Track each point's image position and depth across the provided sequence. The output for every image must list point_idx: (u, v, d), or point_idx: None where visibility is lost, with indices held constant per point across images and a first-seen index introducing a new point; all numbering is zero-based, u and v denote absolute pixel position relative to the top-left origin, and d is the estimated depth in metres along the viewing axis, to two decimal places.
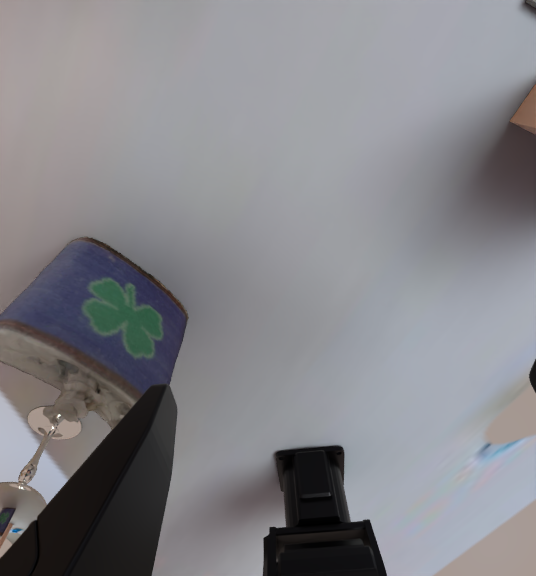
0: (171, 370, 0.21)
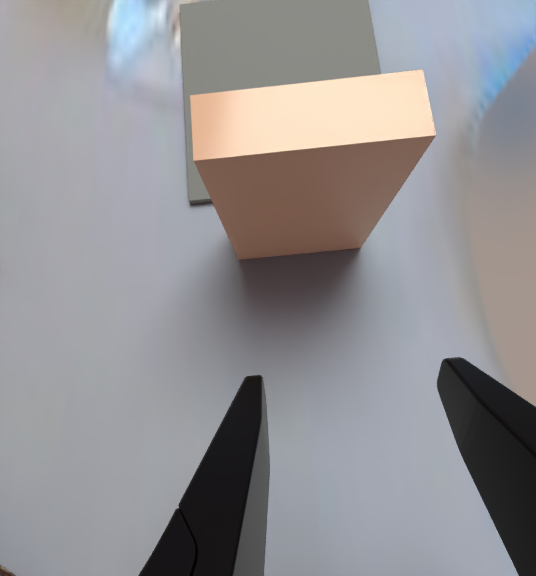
0: None
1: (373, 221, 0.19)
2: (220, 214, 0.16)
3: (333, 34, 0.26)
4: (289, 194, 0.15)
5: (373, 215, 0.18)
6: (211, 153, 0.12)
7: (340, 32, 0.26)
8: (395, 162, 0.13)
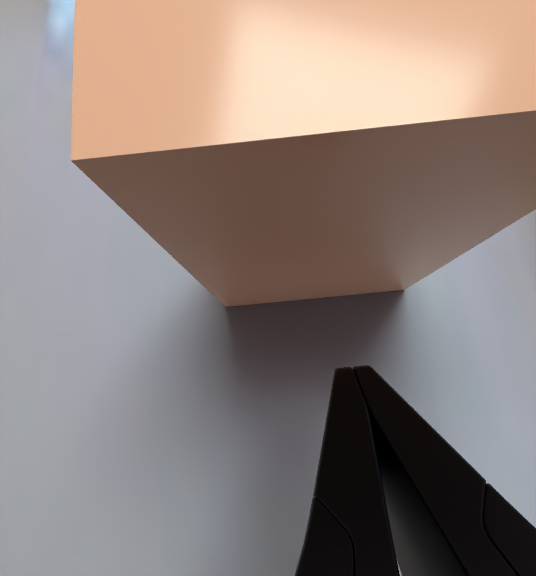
0: None
1: (441, 262, 0.12)
2: (180, 259, 0.09)
3: None
4: (311, 228, 0.08)
5: (447, 254, 0.11)
6: (119, 141, 0.05)
7: None
8: None
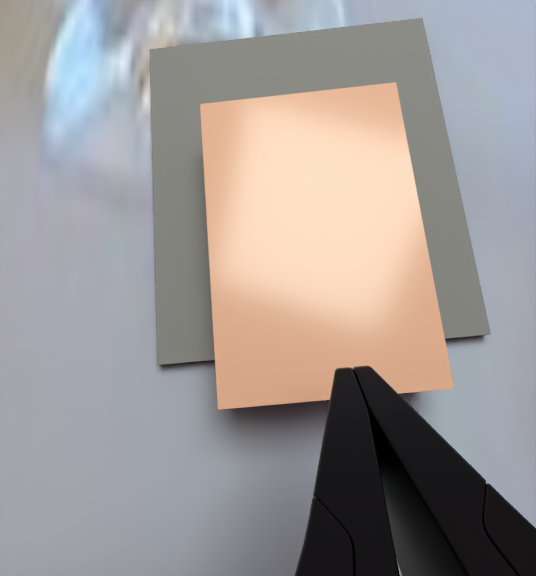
0: None
1: (422, 260, 0.13)
2: (208, 205, 0.14)
3: None
4: (286, 166, 0.14)
5: (412, 236, 0.13)
6: (215, 105, 0.15)
7: None
8: (380, 117, 0.14)
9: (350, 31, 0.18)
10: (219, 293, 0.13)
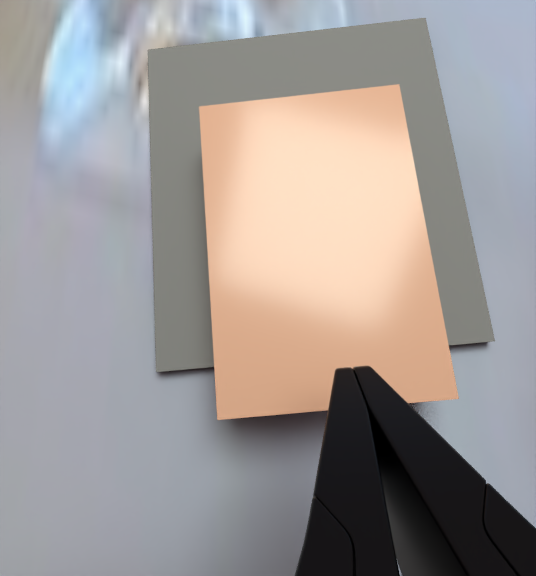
0: None
1: (426, 267, 0.13)
2: (207, 210, 0.14)
3: None
4: (287, 170, 0.14)
5: (415, 242, 0.13)
6: (215, 107, 0.15)
7: None
8: (383, 120, 0.14)
9: (352, 30, 0.18)
10: (219, 300, 0.13)
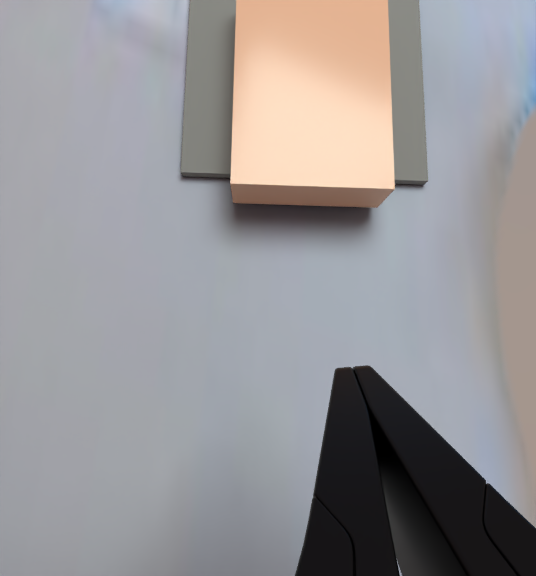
0: None
1: (386, 104, 0.18)
2: (236, 43, 0.18)
3: None
4: (298, 24, 0.19)
5: (381, 86, 0.18)
6: None
7: None
8: (371, 0, 0.19)
9: None
10: (239, 106, 0.18)
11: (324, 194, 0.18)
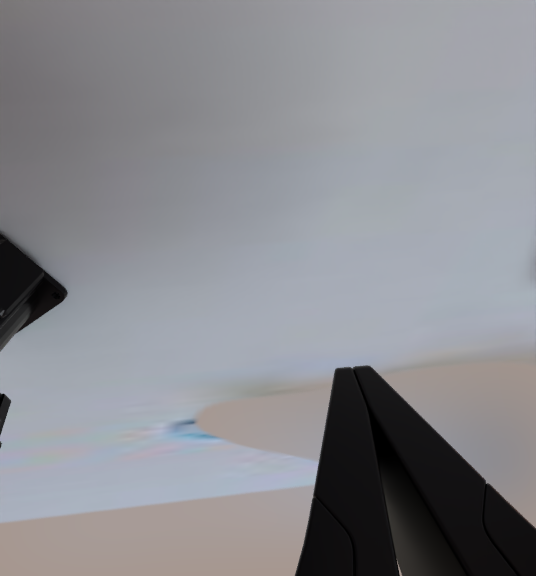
0: None
1: None
2: None
3: None
4: None
5: None
6: None
7: None
8: None
9: None
10: None
11: None
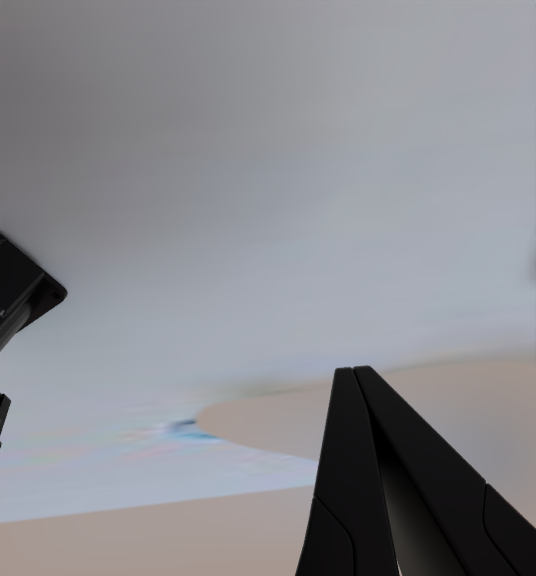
0: None
1: None
2: None
3: None
4: None
5: None
6: None
7: None
8: None
9: None
10: None
11: None
